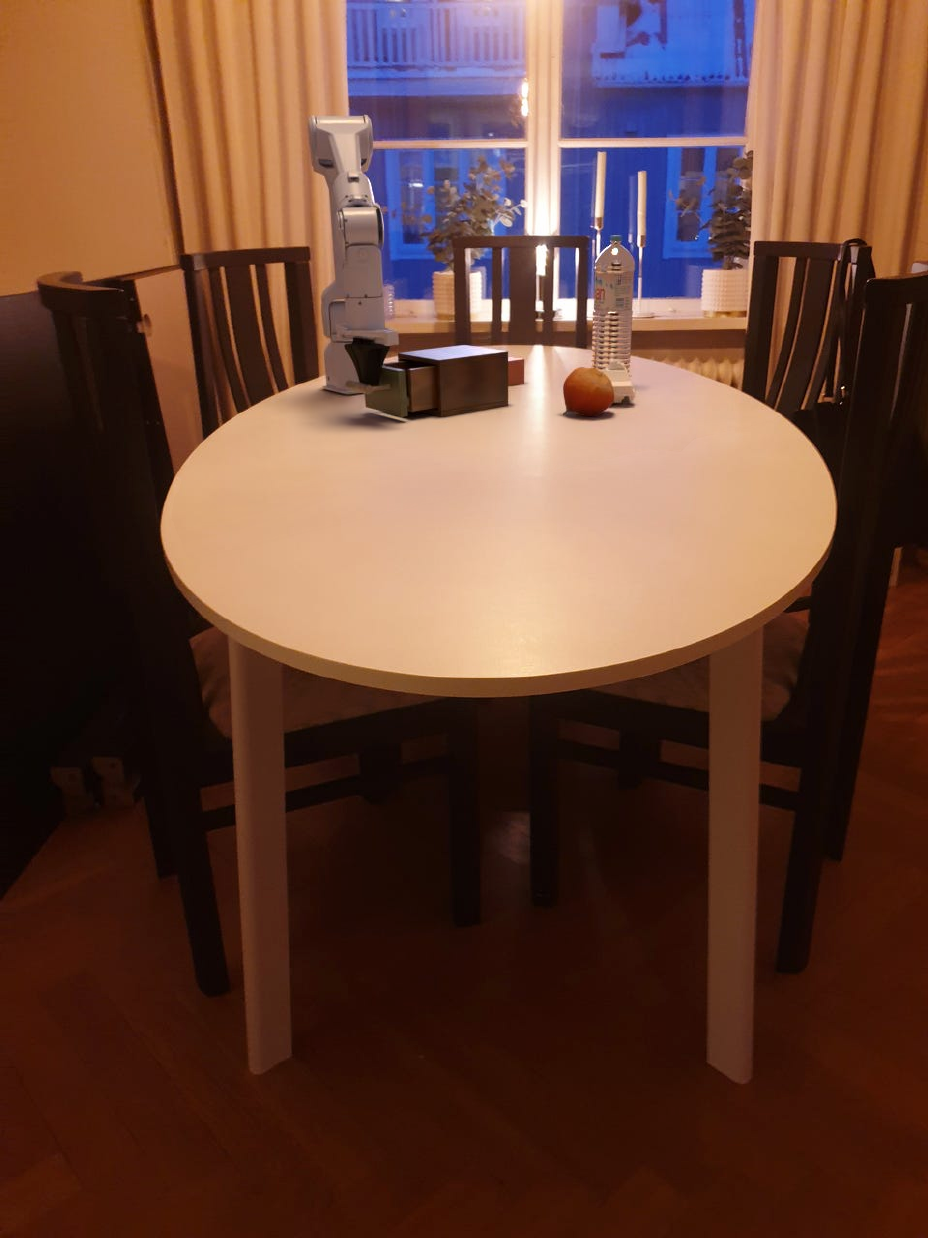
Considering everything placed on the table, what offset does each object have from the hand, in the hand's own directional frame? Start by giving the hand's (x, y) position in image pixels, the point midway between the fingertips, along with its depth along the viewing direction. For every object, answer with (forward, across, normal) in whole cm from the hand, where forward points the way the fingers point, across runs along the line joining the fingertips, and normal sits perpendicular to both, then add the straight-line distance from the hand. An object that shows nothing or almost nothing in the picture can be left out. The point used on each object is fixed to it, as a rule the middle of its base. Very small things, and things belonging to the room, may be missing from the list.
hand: (370, 390), depth 138 cm
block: (+4, -11, +36) cm, 38 cm away
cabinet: (+4, 0, +16) cm, 16 cm away
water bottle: (+5, +5, +47) cm, 47 cm away
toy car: (+5, +15, +38) cm, 41 cm away
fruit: (+5, +20, +27) cm, 34 cm away
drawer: (+4, 0, +6) cm, 7 cm away
